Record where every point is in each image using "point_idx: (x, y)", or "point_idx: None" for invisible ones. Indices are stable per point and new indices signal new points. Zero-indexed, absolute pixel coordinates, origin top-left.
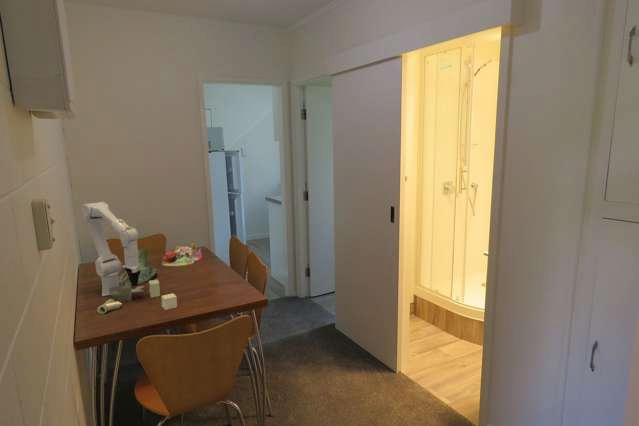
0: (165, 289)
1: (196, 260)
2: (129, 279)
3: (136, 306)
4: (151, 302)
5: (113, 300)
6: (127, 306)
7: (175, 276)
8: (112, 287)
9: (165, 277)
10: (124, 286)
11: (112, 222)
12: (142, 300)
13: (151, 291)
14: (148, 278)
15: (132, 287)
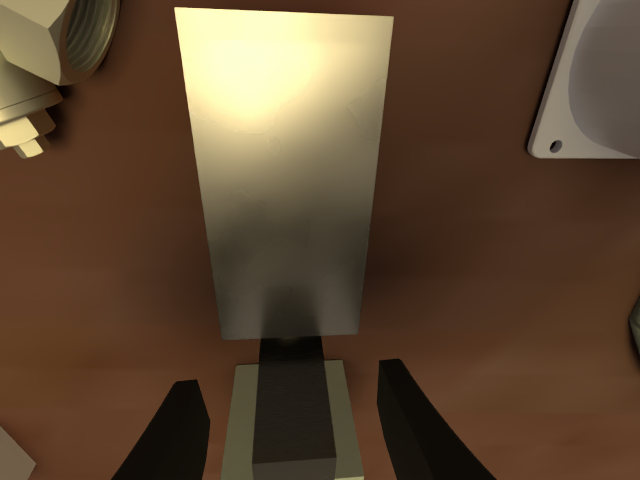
0: (367, 433)
1: None
2: (395, 398)
3: (37, 269)
4: (111, 365)
5: (43, 61)
6: (60, 197)
7: (581, 471)
8: (638, 77)
9: (618, 435)
10: (320, 271)
11: None
12: (193, 314)
13: (230, 417)
14: None
15: (260, 344)
